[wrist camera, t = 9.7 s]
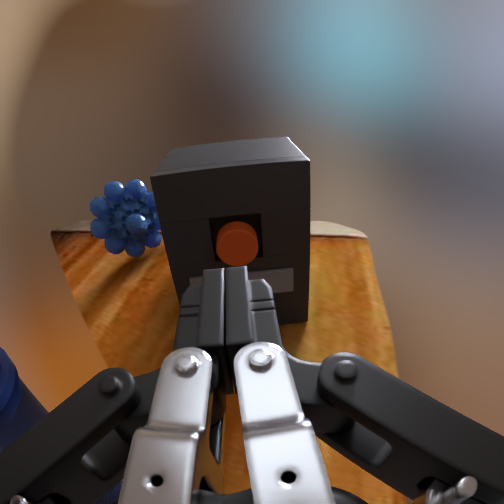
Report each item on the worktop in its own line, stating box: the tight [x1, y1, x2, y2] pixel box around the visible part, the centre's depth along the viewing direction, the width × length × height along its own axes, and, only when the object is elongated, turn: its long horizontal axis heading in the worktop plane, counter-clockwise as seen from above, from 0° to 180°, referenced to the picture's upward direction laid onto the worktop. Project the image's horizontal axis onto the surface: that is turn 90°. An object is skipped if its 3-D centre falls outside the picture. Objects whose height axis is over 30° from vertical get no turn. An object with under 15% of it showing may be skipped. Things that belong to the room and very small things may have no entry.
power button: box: [216, 221, 258, 266], centre depth 25 cm, size 3×2×3 cm, turn 94°
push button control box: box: [150, 137, 310, 325], centre depth 31 cm, size 12×10×16 cm
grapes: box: [90, 180, 162, 257], centre depth 41 cm, size 12×7×12 cm, turn 131°
